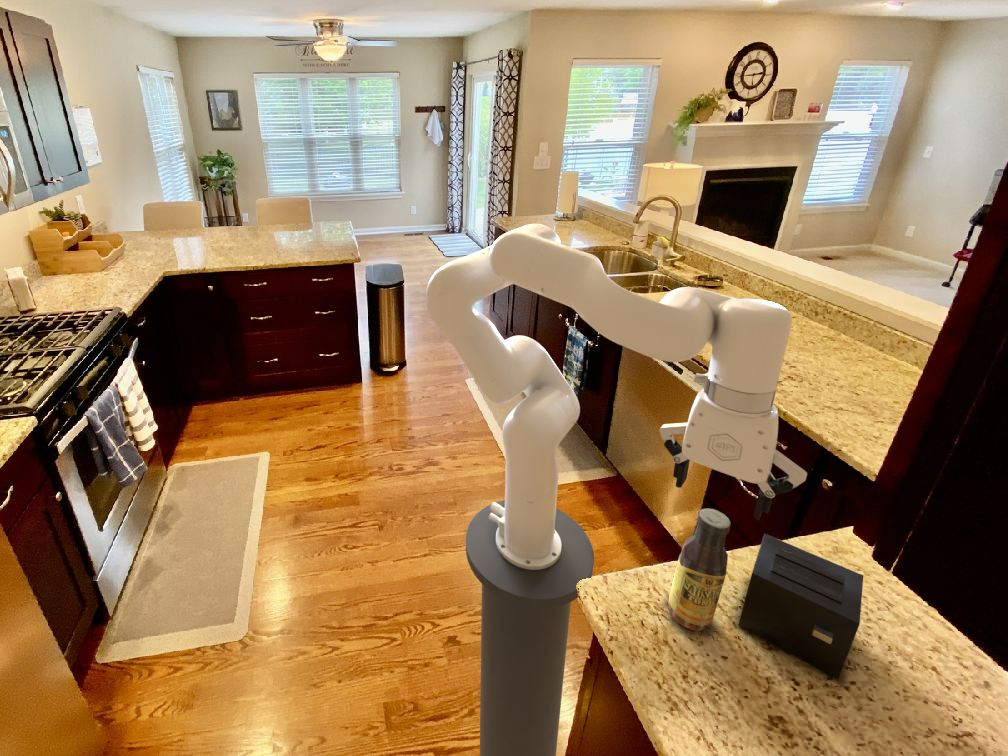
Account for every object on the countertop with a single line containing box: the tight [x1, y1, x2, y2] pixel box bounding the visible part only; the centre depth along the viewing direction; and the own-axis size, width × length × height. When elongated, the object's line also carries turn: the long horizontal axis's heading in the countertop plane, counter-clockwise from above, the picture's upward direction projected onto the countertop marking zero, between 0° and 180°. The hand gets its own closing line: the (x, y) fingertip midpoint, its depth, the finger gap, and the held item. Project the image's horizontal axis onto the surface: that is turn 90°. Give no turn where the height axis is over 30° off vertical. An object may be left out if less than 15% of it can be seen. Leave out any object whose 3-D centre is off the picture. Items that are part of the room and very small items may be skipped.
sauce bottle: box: [668, 508, 731, 632], centre depth 74 cm, size 6×6×20 cm
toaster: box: [737, 533, 864, 681], centre depth 73 cm, size 12×11×11 cm
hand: (717, 497), depth 69 cm, fingers open, 9 cm apart
